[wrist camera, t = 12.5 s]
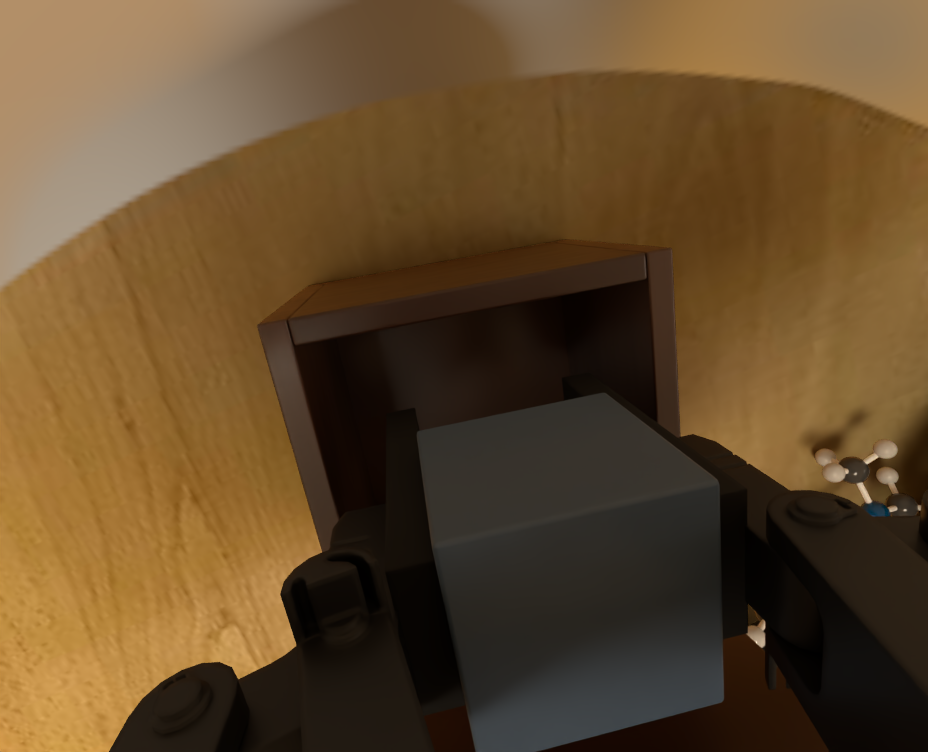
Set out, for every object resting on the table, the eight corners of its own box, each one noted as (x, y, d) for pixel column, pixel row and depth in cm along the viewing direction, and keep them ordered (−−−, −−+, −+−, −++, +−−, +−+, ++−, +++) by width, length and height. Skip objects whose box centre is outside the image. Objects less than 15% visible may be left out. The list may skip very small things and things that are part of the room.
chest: (306, 285, 20) (256, 324, 12) (566, 238, 21) (673, 247, 13) (366, 518, 23) (355, 668, 15) (590, 469, 24) (687, 586, 16)
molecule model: (659, 617, 26) (668, 508, 22) (816, 504, 30) (851, 392, 25) (778, 739, 21) (820, 630, 17) (947, 586, 25) (1018, 465, 21)
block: (415, 430, 11) (431, 546, 7) (604, 390, 11) (722, 480, 7) (449, 592, 12) (479, 769, 8) (619, 552, 12) (726, 703, 8)
